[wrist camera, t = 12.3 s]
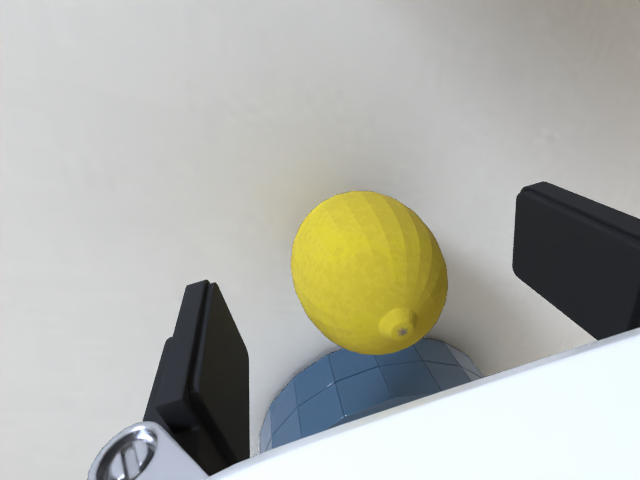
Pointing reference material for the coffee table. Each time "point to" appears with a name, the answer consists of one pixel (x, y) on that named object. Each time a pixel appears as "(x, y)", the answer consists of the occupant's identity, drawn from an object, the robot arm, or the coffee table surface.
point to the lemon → (369, 273)
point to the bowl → (361, 388)
